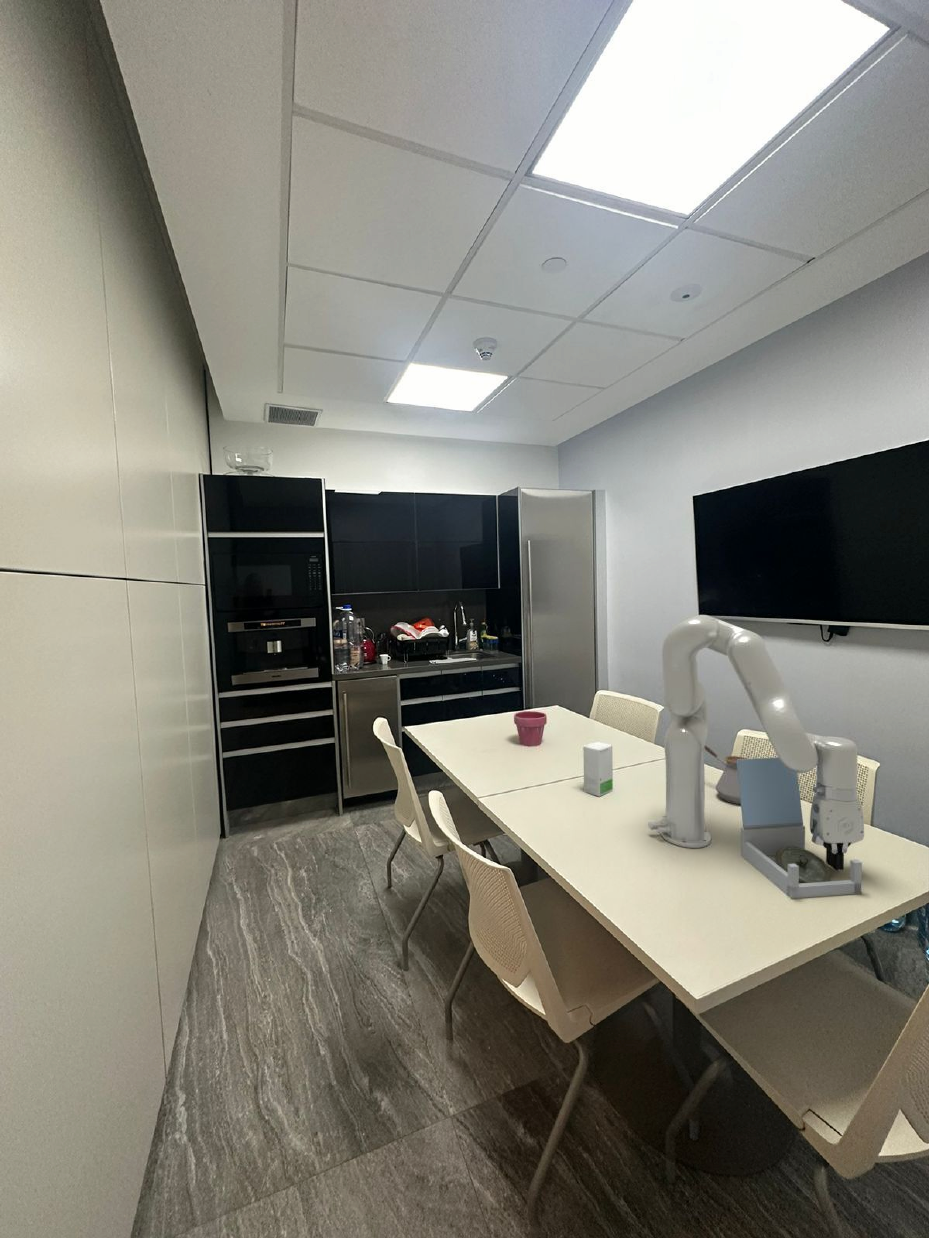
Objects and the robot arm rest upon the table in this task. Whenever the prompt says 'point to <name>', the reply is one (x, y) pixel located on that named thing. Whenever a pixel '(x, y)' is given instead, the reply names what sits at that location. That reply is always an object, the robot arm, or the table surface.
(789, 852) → the lid
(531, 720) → the plant pot
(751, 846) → the low-walled grey tray
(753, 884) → the table surface
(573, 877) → the table surface
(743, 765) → the cover
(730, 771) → the coffee pot
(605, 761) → the skincare box
